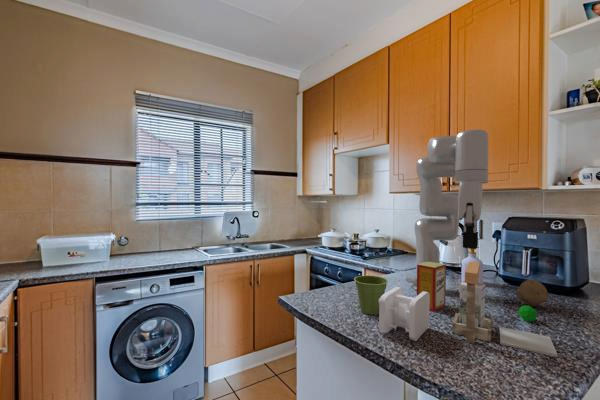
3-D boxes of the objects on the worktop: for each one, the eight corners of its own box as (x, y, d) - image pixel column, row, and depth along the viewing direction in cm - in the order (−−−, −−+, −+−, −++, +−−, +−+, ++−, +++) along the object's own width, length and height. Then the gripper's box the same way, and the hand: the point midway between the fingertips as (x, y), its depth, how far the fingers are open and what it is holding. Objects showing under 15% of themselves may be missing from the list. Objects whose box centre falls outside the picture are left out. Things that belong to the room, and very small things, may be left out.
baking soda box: (428, 301, 116) (428, 260, 116) (445, 305, 111) (445, 263, 111) (416, 306, 110) (417, 263, 110) (434, 311, 105) (434, 266, 105)
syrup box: (485, 331, 90) (485, 283, 90) (480, 337, 85) (481, 287, 85) (464, 325, 94) (464, 279, 94) (458, 331, 89) (459, 283, 89)
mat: (500, 344, 81) (500, 341, 81) (499, 328, 91) (499, 326, 91) (557, 357, 75) (557, 354, 75) (549, 338, 85) (549, 336, 85)
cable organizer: (414, 346, 79) (414, 303, 79) (377, 335, 86) (377, 295, 86) (430, 328, 91) (430, 290, 91) (396, 319, 98) (396, 284, 98)
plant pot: (358, 303, 113) (358, 273, 113) (390, 308, 107) (390, 277, 107) (349, 313, 102) (349, 281, 102) (384, 320, 97) (385, 286, 97)
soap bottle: (487, 285, 139) (487, 233, 139) (467, 285, 139) (468, 233, 139) (476, 280, 147) (476, 231, 148) (457, 280, 148) (458, 231, 148)
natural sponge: (554, 312, 106) (554, 284, 106) (526, 309, 108) (526, 282, 108) (539, 303, 115) (539, 277, 115) (513, 301, 117) (513, 276, 117)
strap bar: (464, 282, 83) (464, 272, 83) (468, 270, 98) (469, 261, 98) (477, 284, 81) (477, 273, 81) (479, 271, 96) (479, 262, 96)
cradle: (450, 338, 84) (451, 282, 85) (457, 317, 100) (457, 270, 100) (490, 347, 79) (491, 288, 79) (491, 324, 94) (491, 274, 94)
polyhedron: (526, 317, 101) (526, 303, 101) (541, 323, 96) (541, 308, 96) (514, 318, 100) (514, 304, 100) (528, 324, 95) (528, 309, 95)
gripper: (458, 180, 87) (457, 242, 87) (451, 175, 73) (450, 249, 73) (488, 179, 83) (487, 244, 83) (487, 174, 69) (486, 253, 69)
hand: (470, 246), depth 78 cm, fingers open, 3 cm apart
